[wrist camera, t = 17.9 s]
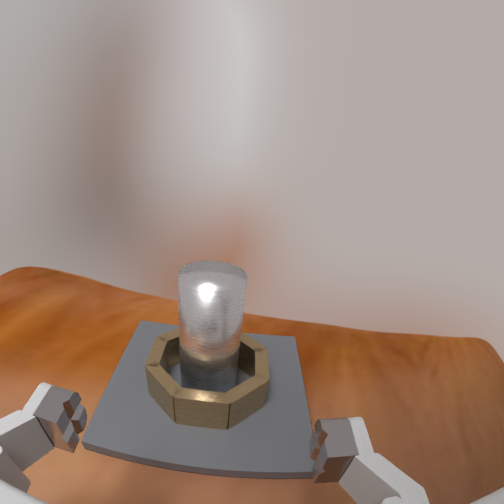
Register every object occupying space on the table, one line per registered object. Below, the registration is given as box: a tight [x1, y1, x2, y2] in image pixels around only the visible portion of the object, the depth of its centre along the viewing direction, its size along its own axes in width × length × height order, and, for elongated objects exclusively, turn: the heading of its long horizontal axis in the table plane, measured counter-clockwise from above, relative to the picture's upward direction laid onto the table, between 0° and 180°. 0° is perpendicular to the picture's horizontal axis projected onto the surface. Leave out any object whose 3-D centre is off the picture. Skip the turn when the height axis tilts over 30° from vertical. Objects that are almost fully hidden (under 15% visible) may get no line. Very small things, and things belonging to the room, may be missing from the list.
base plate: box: [81, 320, 315, 479], centre depth 24 cm, size 16×16×1 cm
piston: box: [179, 261, 247, 393], centre depth 22 cm, size 4×4×10 cm
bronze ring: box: [145, 328, 269, 430], centre depth 23 cm, size 9×9×3 cm
